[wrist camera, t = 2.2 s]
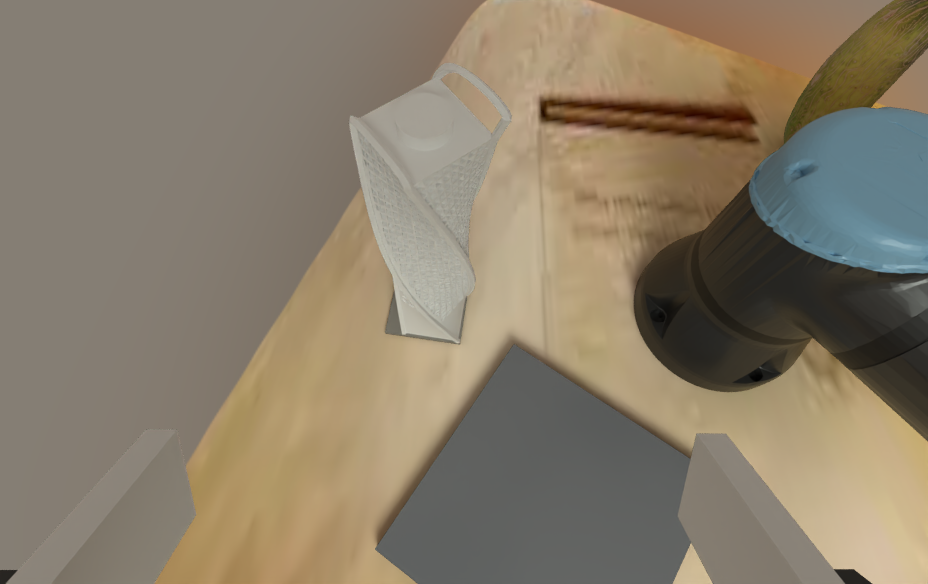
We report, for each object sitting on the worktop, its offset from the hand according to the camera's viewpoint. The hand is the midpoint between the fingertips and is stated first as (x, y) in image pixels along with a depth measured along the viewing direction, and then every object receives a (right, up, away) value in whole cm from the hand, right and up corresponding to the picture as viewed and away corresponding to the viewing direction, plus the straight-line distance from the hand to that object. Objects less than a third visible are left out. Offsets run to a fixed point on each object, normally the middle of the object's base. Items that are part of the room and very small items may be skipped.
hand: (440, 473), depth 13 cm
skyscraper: (-2, +3, +35) cm, 36 cm away
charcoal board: (+8, -13, +29) cm, 32 cm away
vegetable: (+37, +21, +45) cm, 62 cm away
